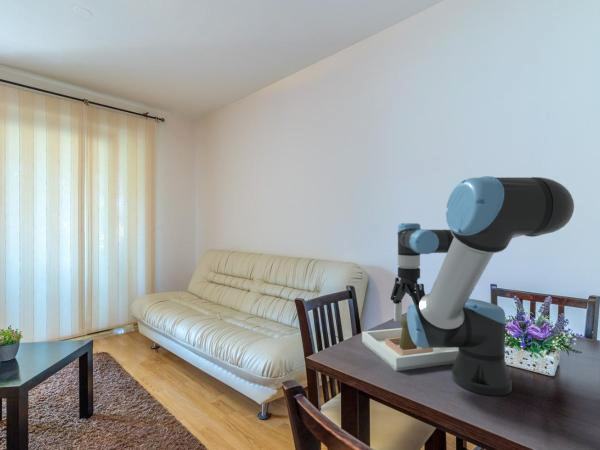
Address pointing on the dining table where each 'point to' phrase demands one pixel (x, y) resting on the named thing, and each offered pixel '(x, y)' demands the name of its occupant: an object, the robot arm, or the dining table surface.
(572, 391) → the dining table surface
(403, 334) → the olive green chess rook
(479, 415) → the dining table surface
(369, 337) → the walled box
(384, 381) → the dining table surface
